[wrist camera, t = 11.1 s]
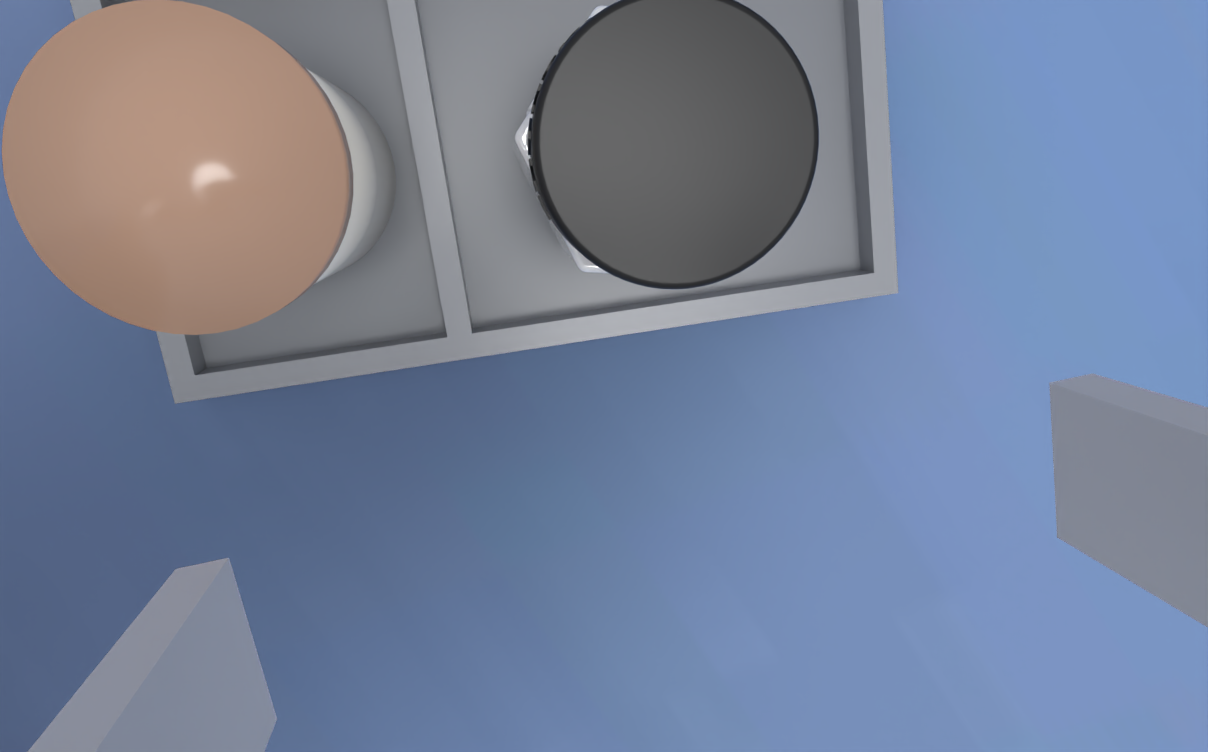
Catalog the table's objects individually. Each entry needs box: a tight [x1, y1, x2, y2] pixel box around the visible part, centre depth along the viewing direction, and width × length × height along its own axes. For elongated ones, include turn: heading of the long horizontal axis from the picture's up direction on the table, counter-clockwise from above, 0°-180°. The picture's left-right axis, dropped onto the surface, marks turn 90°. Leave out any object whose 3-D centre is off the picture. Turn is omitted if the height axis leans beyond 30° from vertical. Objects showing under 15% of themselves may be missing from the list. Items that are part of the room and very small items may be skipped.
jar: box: [512, 0, 819, 290], centre depth 29 cm, size 9×8×12 cm
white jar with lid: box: [2, 0, 396, 335], centre depth 28 cm, size 8×8×12 cm
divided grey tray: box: [70, 0, 898, 404], centre depth 34 cm, size 30×16×3 cm, turn 97°
